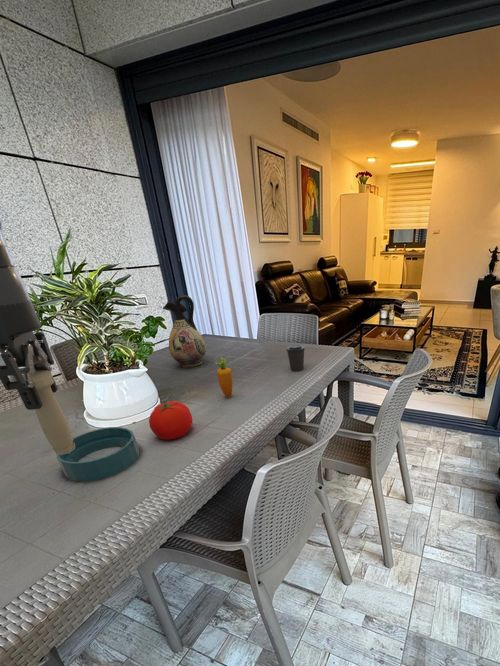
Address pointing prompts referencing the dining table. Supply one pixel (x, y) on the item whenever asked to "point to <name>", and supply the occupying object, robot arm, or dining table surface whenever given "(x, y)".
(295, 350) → the coffee cup
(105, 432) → the teal ring
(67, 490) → the dining table surface
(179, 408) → the tomato
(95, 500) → the dining table surface
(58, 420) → the handle
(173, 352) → the ceramic jug
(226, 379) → the carrot
